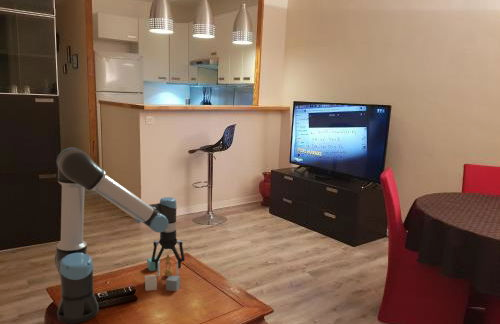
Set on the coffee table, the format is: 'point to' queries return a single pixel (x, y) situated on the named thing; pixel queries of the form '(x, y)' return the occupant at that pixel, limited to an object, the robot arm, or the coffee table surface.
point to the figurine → (168, 270)
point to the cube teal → (151, 264)
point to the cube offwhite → (150, 282)
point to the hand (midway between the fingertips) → (168, 274)
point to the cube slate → (172, 283)
